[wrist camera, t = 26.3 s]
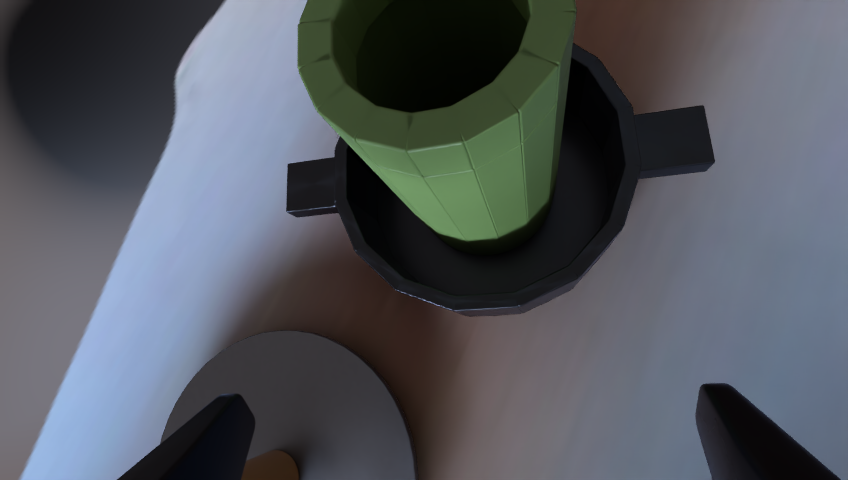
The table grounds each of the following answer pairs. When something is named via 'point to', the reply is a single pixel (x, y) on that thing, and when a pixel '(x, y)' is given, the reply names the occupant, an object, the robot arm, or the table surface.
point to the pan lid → (307, 409)
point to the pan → (563, 227)
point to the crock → (448, 105)
